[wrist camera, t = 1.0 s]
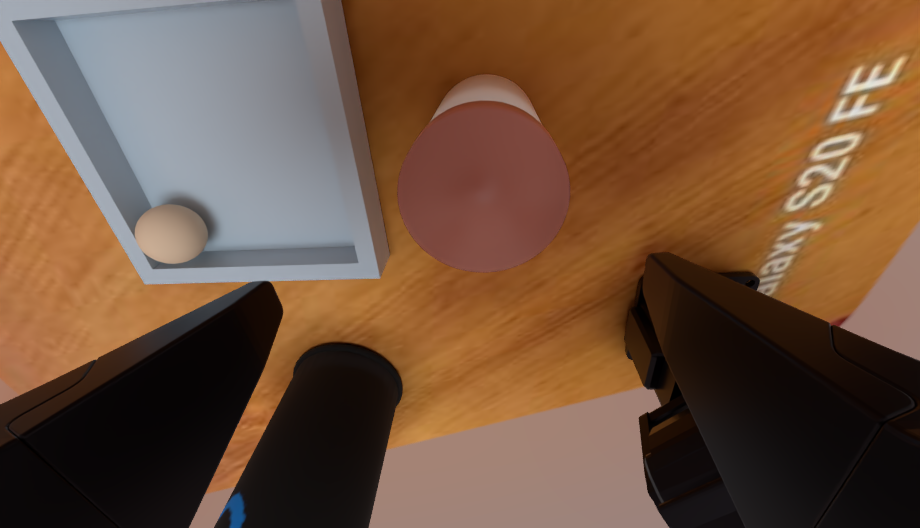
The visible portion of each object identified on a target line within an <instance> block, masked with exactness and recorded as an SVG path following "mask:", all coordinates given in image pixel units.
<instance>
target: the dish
mask: <svg viewBox="0 0 920 528" xmlns="http://www.w3.org/2000/svg"><path fill="white" fill-rule="evenodd" d="M0 41H1V43H2V45H3V46H4V48H5V50H6V51H7V53H8V55H9V56H10V58H11V60H12V61H13V63H14V65H15V67H16V68H17V70H18V72H19V73H20V75H21V77H22V78H23V80H24V82H25V83H26V85H27V87H28V88H29V90H30V92H31V93H32V95H33V97H34V99H35V100H36V102H37V104H38V105H39V107H40V109H41V110H42V112H43V114H44V115H45V117H46V119H47V120H48V122H49V124H50V125H51V127H52V129H53V131H54V132H55V134H56V136H57V137H58V139H59V141H60V142H61V144H62V146H63V147H64V149H65V151H66V152H67V154H68V156H69V157H70V159H71V161H72V163H73V164H74V166H75V168H76V169H77V171H78V173H79V174H80V176H81V178H82V179H83V181H84V183H85V184H86V186H87V188H88V189H89V191H90V193H91V195H92V196H93V198H94V200H95V201H96V203H97V205H98V206H99V208H100V210H101V211H102V213H103V215H104V216H105V218H106V220H107V221H108V223H109V225H110V227H111V228H112V230H113V232H114V233H115V235H116V237H117V238H118V240H119V242H120V243H121V245H122V247H123V248H124V250H125V252H126V253H127V255H128V257H129V259H130V260H131V262H132V264H133V265H134V267H135V269H136V270H137V272H138V274H139V275H140V277H141V279H142V280H143V282H144V284H176V283H215V282H254V281H294V280H334V279H373V278H381V275H382V273H383V270H384V268H385V266H386V263H387V261H388V259H389V256H390V253H389V248H388V242H387V237H386V232H385V227H384V222H383V216H382V211H381V206H380V201H379V195H378V190H377V185H376V180H375V174H374V169H373V164H372V159H371V154H370V148H369V143H368V138H367V133H366V127H365V122H364V117H363V112H362V107H361V101H360V96H359V91H358V86H357V80H356V75H355V70H354V65H353V59H352V54H351V49H350V44H349V39H348V33H347V28H346V23H345V18H344V12H343V7H342V2H341V0H0ZM166 204H174V205H180V206H184V207H187V208H189V209H191V210H192V211H194V212H195V213H197V214H198V215H199V216H200V217H201V218H202V219H203V221H204V223H205V225H206V227H207V230H208V240H207V244H206V246H205V248H204V249H203V251H202V252H201V253H200V254H199V255H198V256H196V257H195V258H193V259H192V260H189V261H187V262H183V263H177V264H168V263H163V262H159V261H156V260H154V259H152V258H150V257H149V256H147V255H146V254H145V253H144V252H143V251H142V250H141V249H140V247H139V246H138V244H137V242H136V239H135V227H136V224H137V221H138V220H139V218H140V217H141V216H142V215H143V214H144V213H145V212H146V211H148V210H149V209H151V208H154V207H156V206H160V205H166Z"/></svg>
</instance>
